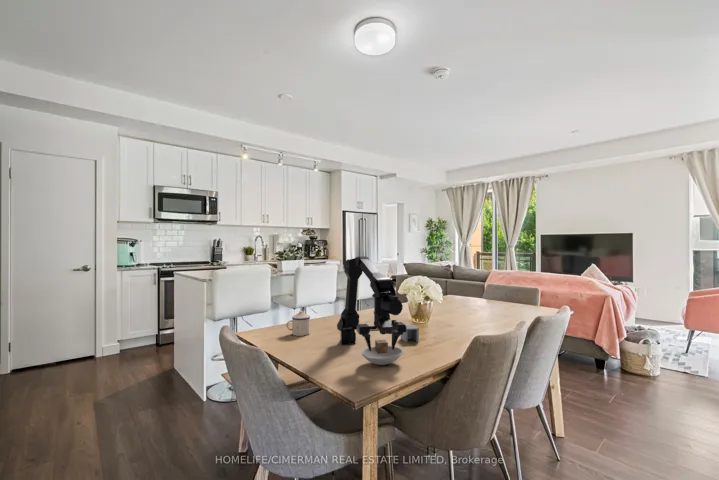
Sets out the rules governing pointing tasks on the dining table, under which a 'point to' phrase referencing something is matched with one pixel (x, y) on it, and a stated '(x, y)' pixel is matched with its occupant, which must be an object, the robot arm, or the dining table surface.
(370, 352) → the dish
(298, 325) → the teacup with lid
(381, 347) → the walnut block
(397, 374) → the dining table surface
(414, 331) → the grey cover
